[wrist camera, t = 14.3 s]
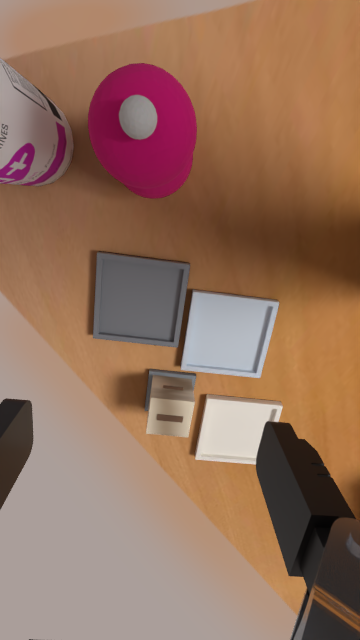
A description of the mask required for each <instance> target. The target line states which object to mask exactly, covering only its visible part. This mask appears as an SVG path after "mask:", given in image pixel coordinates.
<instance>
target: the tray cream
mask: <svg viewBox="0 0 360 640" xmlns="http://www.w3.org/2000/svg"><path fill="white" fill-rule="evenodd" d="M282 407H283V405H282V403H281V401H271V400H261V399H251V398H241V397H231V396H221V395H211V394H206V399H205V404H204V409H203V415H202V420H201V425H200V430H199V435H198V440H197V445H196V450H195V459H197V460H209V461H221V462H233V463H245V464H256V456H257V452H258V448H259V444H260V441H261V437H262V433H263V429H264V426H265V423H266V422H267V421H271V422H278V421H279V417H280V414H281V411H282Z"/></svg>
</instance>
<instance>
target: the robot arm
mask: <svg viewBox="0 0 360 640" xmlns="http://www.w3.org/2000/svg"><path fill="white" fill-rule="evenodd" d="M32 444H33V420H32V404H31V402H30V401H29V400H17V399H4V400H3V401H2V402H1V404H0V509H1V507H2V506H3V504H4V502H5V500H6V498H7V496H8V494H9V493H10V491H11V489H12V487H13V485H14V483H15V482H16V480H17V478H18V476H19V474H20V472H21V470H22V469H23V467H24V465H25V463H26V461H27V459H28V457H29V455H30V452H31V449H32ZM256 471H257V476H258V479H259V482H260V485H261V488H262V492H263V495H264V498H265V501H266V504H267V508H268V511H269V514H270V517H271V520H272V523H273V527H274V530H275V533H276V536H277V539H278V543H279V546H280V549H281V552H282V555H283V559H284V562H285V565H286V568H287V571H288V575H289V576H298V577H304V580H305V583H306V586H307V589H306V591H305V594H304V597H303V600H302V603H301V607H300V610H299V613H298V616H297V619H296V623H295V626H294V629H293V632H292V636H291V639H290V640H360V521H359V520H356V518H355V516H354V515H353V513H352V511H351V510H350V508H349V506H348V504H347V503H346V501H345V499H344V497H343V496H342V494H341V492H340V490H339V489H338V487H337V485H336V484H335V482H334V480H333V478H331V477H330V473H329V471H328V470H327V468H326V467H325V466H324V463H323V461H322V459H321V458H320V456H319V454H318V452H317V451H316V450H315V449H314V448H313V447H312V446H311V445H310V444H309V443H308V442H307V441H306V440H305V439H298V437H297V435H296V434H295V432H294V430H293V428H292V426H291V425H290V424H289V423H283V422H271V421H267V422H266V423H265V426H264V429H263V433H262V437H261V441H260V444H259V448H258V452H257V456H256ZM29 640H31V639H29Z"/></svg>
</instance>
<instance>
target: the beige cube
mask: <svg viewBox="0 0 360 640" xmlns="http://www.w3.org/2000/svg"><path fill="white" fill-rule="evenodd" d="M194 404H195V400H194V392H193V385H192V379H187V378H178V377H168V376H159V375H153V378H152V386H151V393H150V401H149V408H148V419H147V430H146V433H147V434H158V435H168V436H179V437H188V435H189V430H190V425H191V419H192V414H193V409H194Z"/></svg>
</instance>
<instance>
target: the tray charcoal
mask: <svg viewBox="0 0 360 640" xmlns="http://www.w3.org/2000/svg"><path fill="white" fill-rule="evenodd" d="M189 270H190V263H185V262H178V261H170V260H162V259H155V258H147V257H140V256H132V255H124V254H117V253H109V252H102V251H99V252H97V266H96V287H95V308H94V329H93V338H96V339H105V340H114V341H123V342H132V343H141V344H150V345H159V346H168V347H177V348H178V343H179V336H180V330H181V323H182V316H183V310H184V303H185V296H186V290H187V283H188V277H189Z"/></svg>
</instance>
